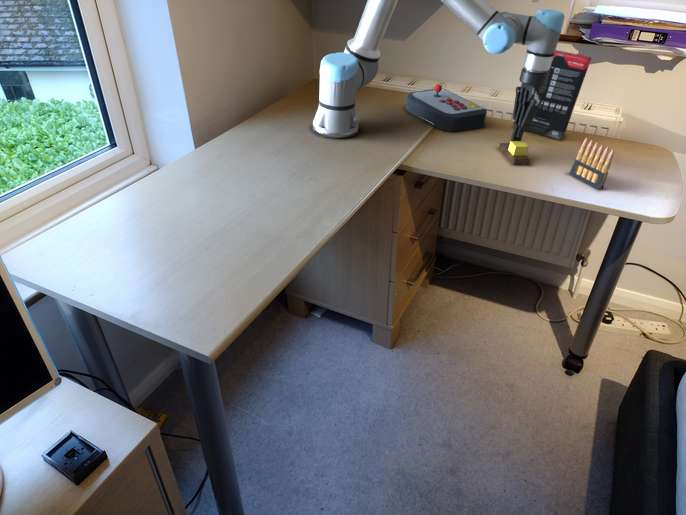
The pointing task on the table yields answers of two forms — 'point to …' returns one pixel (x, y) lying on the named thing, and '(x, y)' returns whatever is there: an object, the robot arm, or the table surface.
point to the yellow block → (518, 148)
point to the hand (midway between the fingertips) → (514, 145)
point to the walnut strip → (513, 159)
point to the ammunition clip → (592, 165)
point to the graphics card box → (559, 94)
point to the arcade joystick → (445, 109)
